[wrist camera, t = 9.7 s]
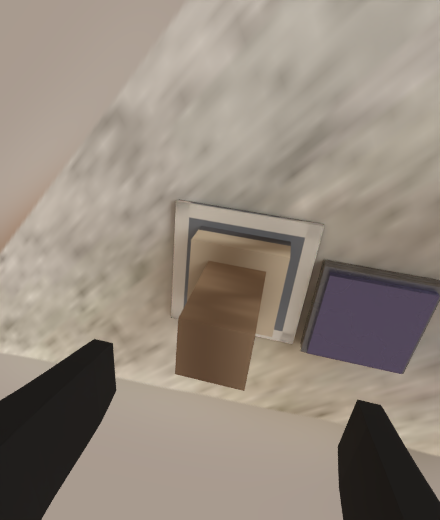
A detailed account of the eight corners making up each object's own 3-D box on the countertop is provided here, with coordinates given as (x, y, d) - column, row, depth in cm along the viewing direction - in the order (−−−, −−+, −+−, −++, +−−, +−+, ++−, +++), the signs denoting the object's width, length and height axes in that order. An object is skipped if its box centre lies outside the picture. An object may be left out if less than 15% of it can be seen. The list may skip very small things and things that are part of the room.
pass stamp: (291, 241, 18) (287, 319, 12) (274, 316, 20) (263, 412, 14) (201, 225, 19) (154, 291, 13) (195, 299, 21) (152, 384, 15)
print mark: (323, 224, 18) (324, 226, 17) (292, 340, 21) (292, 344, 21) (177, 199, 19) (175, 201, 18) (172, 314, 22) (170, 317, 22)
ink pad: (439, 280, 18) (448, 292, 17) (399, 364, 20) (405, 378, 19) (324, 259, 18) (325, 269, 17) (300, 342, 21) (300, 355, 20)
